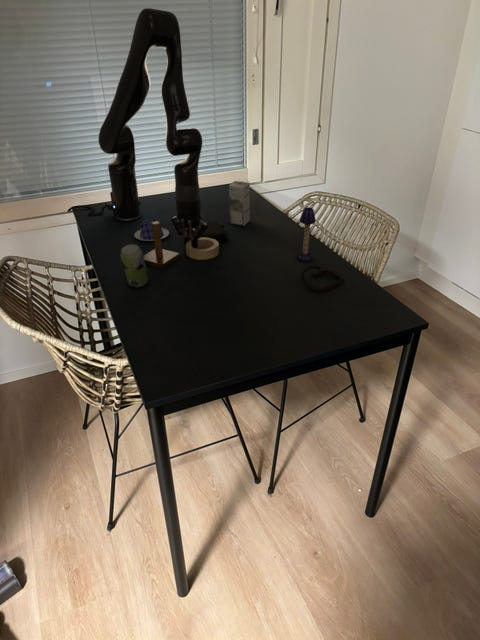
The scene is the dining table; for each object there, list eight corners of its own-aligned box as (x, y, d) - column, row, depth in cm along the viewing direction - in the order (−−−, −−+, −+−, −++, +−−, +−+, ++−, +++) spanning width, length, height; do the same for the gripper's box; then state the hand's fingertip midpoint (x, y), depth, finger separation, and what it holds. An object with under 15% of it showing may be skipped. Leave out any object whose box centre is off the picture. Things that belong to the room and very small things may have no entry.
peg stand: (139, 262, 155) (134, 225, 148) (157, 251, 161) (153, 215, 154) (162, 269, 151) (158, 230, 144) (179, 257, 158) (176, 220, 151)
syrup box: (250, 220, 183) (250, 181, 175) (243, 226, 178) (243, 186, 170) (236, 218, 185) (235, 180, 177) (229, 224, 180) (228, 184, 172)
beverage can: (153, 280, 145) (148, 242, 138) (140, 292, 139) (135, 253, 132) (134, 277, 147) (128, 239, 140) (121, 289, 141) (114, 250, 134)
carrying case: (231, 241, 167) (221, 225, 179) (231, 233, 165) (220, 217, 177) (200, 245, 165) (192, 229, 177) (200, 237, 163) (191, 221, 175)
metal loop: (335, 258, 146) (351, 273, 138) (333, 275, 149) (348, 290, 140) (294, 261, 142) (307, 276, 134) (291, 278, 145) (305, 293, 137)
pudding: (163, 226, 179) (161, 212, 176) (174, 238, 170) (172, 224, 167) (130, 232, 175) (128, 218, 172) (140, 245, 165) (138, 230, 163)
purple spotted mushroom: (315, 260, 155) (319, 209, 146) (303, 264, 153) (307, 212, 144) (306, 254, 158) (309, 204, 149) (294, 258, 156) (297, 207, 147)
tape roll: (180, 255, 159) (179, 246, 157) (198, 243, 166) (197, 235, 165) (207, 262, 154) (207, 253, 153) (224, 249, 162) (224, 241, 160)
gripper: (213, 196, 152) (215, 248, 162) (176, 190, 158) (180, 240, 168) (199, 204, 147) (202, 257, 156) (162, 197, 153) (167, 248, 162)
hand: (191, 248), depth 162 cm, fingers closed on tape roll
